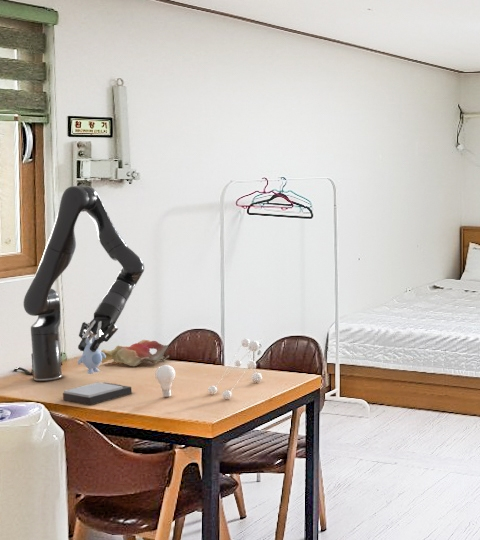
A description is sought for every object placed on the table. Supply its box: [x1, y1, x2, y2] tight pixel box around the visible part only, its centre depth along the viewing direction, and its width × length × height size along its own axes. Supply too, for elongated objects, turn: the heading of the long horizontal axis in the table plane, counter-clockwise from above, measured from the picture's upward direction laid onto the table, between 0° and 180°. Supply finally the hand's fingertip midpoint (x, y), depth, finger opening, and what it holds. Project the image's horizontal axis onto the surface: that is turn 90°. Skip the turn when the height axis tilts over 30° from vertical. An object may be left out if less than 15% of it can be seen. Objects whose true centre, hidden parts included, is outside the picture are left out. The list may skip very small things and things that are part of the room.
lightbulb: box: [154, 364, 177, 398], centre depth 292 cm, size 6×6×11 cm
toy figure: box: [77, 336, 106, 375], centre depth 292 cm, size 11×6×12 cm, turn 150°
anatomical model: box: [100, 339, 170, 367], centre depth 347 cm, size 23×25×10 cm
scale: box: [62, 381, 133, 406], centre depth 294 cm, size 14×16×3 cm
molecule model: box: [207, 338, 263, 400], centre depth 299 cm, size 14×25×18 cm, turn 155°
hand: (86, 350), depth 290 cm, fingers closed on toy figure, 4 cm apart
